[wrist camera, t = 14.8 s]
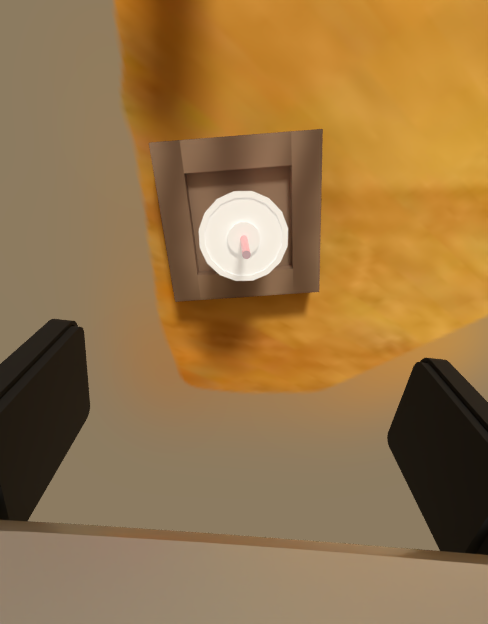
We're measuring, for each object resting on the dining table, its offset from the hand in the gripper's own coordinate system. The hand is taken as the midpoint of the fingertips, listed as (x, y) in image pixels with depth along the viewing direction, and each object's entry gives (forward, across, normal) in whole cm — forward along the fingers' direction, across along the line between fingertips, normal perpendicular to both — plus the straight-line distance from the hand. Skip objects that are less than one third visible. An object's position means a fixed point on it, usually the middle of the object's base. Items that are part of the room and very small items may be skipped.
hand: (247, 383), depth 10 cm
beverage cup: (+25, 0, 0) cm, 25 cm away
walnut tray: (+28, 0, 0) cm, 28 cm away
